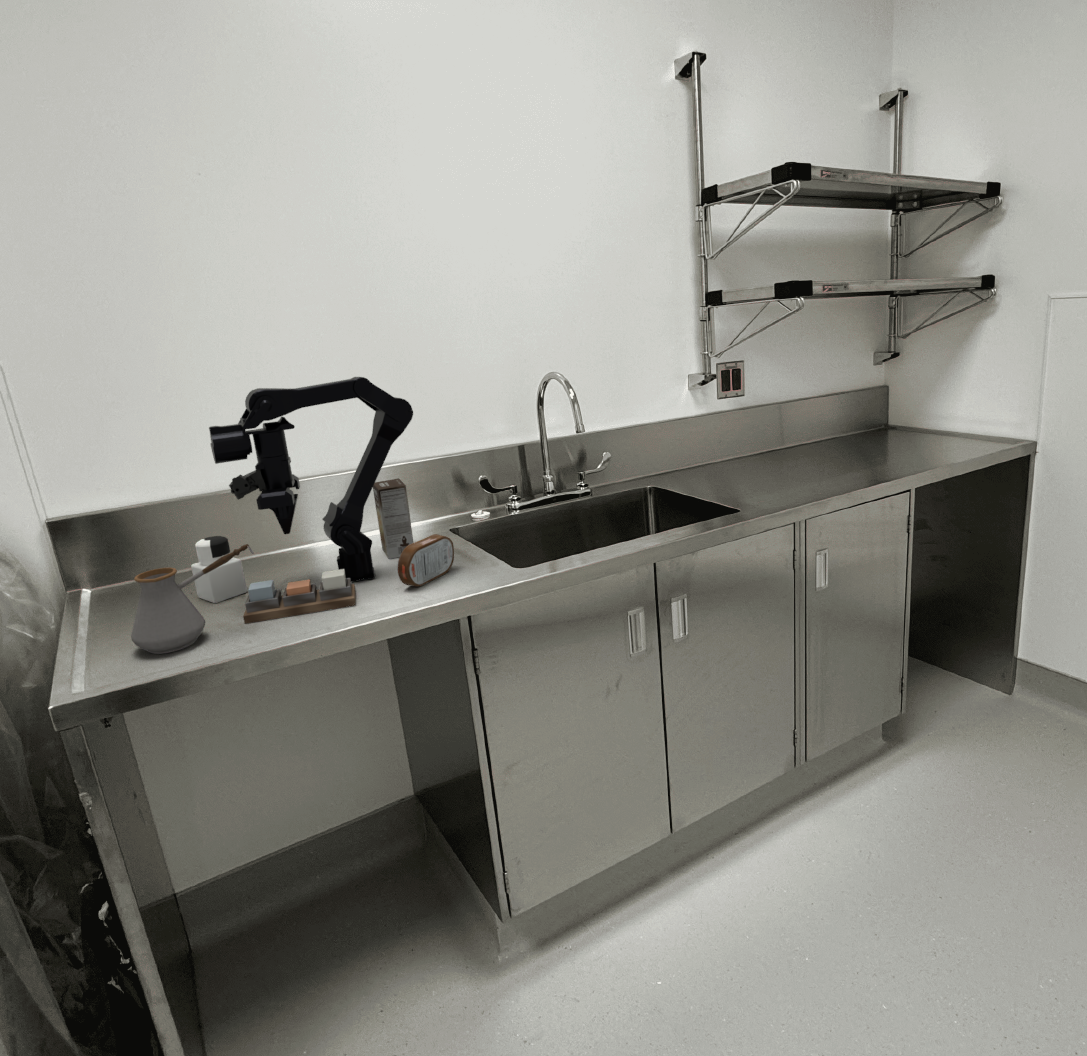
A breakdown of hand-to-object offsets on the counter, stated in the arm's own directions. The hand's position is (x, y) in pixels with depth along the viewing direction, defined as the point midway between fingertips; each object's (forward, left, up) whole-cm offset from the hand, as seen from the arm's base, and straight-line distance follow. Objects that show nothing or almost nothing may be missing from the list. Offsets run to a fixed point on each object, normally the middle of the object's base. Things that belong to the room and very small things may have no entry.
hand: (287, 533), depth 144 cm
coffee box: (-21, -17, -12) cm, 30 cm away
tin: (-26, +6, -12) cm, 29 cm away
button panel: (-2, +10, -12) cm, 16 cm away
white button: (-8, +10, -10) cm, 16 cm away
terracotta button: (-2, +10, -11) cm, 15 cm away
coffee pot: (+15, +17, -12) cm, 26 cm away
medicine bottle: (+15, -5, -12) cm, 20 cm away
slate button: (+5, +10, -10) cm, 15 cm away
